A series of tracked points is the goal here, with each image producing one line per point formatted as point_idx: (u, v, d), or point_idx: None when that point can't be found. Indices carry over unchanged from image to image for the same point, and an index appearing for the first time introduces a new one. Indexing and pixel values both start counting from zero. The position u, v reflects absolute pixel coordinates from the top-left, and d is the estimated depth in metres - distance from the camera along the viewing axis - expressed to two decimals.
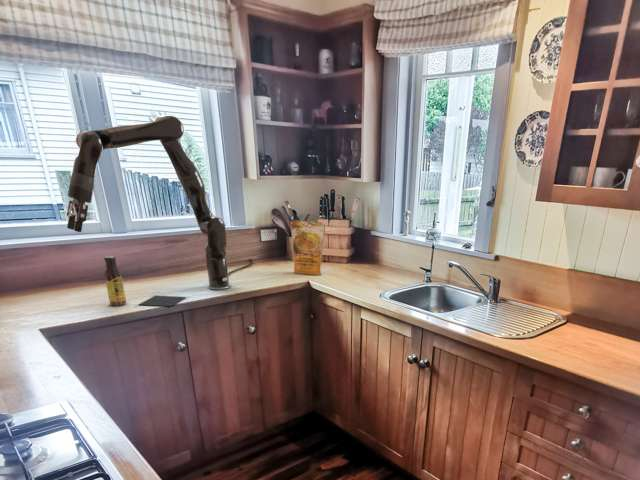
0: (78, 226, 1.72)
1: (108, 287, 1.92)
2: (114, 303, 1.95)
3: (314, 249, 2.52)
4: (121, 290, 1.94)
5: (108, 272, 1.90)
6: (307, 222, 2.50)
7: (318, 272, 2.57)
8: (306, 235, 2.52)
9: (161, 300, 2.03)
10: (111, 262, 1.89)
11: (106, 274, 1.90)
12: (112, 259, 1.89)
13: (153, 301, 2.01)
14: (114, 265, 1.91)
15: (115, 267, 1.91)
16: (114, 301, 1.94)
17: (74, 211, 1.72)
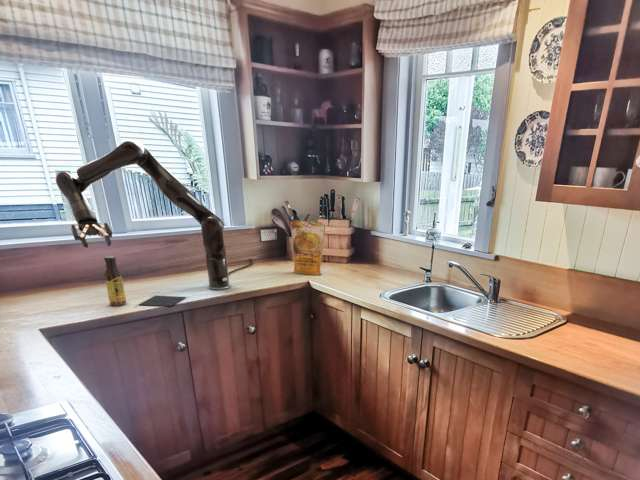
0: (82, 243, 1.93)
1: (108, 287, 1.92)
2: (114, 303, 1.95)
3: (314, 249, 2.52)
4: (121, 290, 1.94)
5: (108, 272, 1.90)
6: (307, 222, 2.50)
7: (318, 272, 2.57)
8: (306, 235, 2.52)
9: (161, 300, 2.03)
10: (111, 262, 1.89)
11: (106, 274, 1.90)
12: (112, 259, 1.89)
13: (153, 301, 2.01)
14: (114, 265, 1.91)
15: (115, 267, 1.91)
16: (114, 301, 1.94)
17: None
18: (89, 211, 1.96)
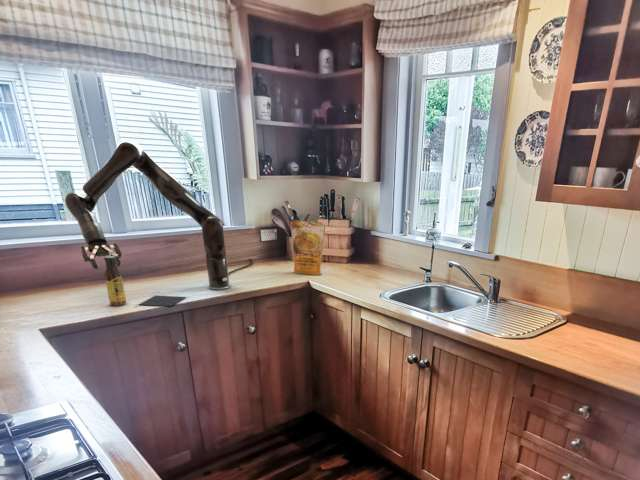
0: (92, 264, 1.92)
1: (108, 287, 1.92)
2: (114, 303, 1.95)
3: (314, 249, 2.52)
4: (121, 290, 1.94)
5: (108, 272, 1.90)
6: (307, 222, 2.50)
7: (318, 272, 2.57)
8: (306, 235, 2.52)
9: (161, 300, 2.03)
10: (111, 262, 1.89)
11: (106, 274, 1.90)
12: (112, 259, 1.89)
13: (153, 301, 2.01)
14: (114, 265, 1.91)
15: (115, 267, 1.91)
16: (114, 301, 1.94)
17: None
18: (99, 232, 1.95)
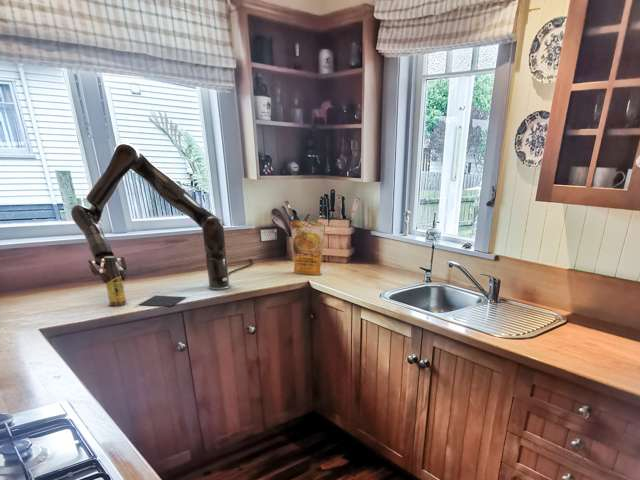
0: (101, 278, 1.90)
1: (108, 287, 1.92)
2: (114, 303, 1.95)
3: (314, 249, 2.52)
4: (120, 290, 1.94)
5: (107, 272, 1.90)
6: (307, 222, 2.50)
7: (318, 272, 2.57)
8: (306, 235, 2.52)
9: (161, 300, 2.03)
10: (111, 262, 1.89)
11: (106, 274, 1.90)
12: (112, 259, 1.89)
13: (153, 301, 2.01)
14: (114, 265, 1.91)
15: (115, 267, 1.91)
16: (114, 301, 1.94)
17: None
18: (105, 244, 1.93)
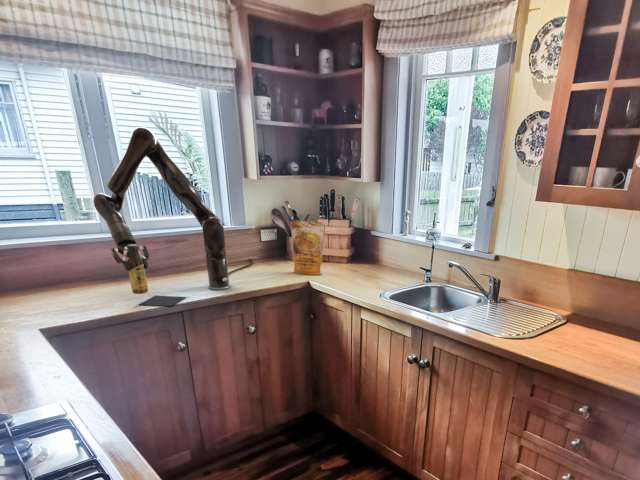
0: (124, 266, 1.91)
1: (131, 275, 1.93)
2: (137, 291, 1.95)
3: (314, 249, 2.52)
4: (143, 278, 1.95)
5: (130, 260, 1.91)
6: (307, 222, 2.50)
7: (318, 272, 2.57)
8: (306, 235, 2.52)
9: (161, 300, 2.03)
10: (134, 250, 1.90)
11: (129, 262, 1.91)
12: (135, 247, 1.90)
13: (153, 301, 2.01)
14: (136, 253, 1.91)
15: (137, 255, 1.92)
16: (137, 289, 1.95)
17: None
18: (128, 233, 1.94)
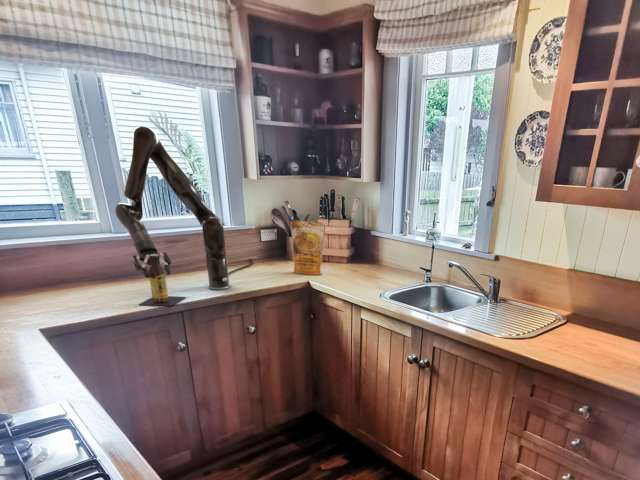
0: (143, 273, 1.94)
1: (152, 284, 1.97)
2: (157, 300, 1.99)
3: (314, 249, 2.52)
4: (164, 287, 1.99)
5: (152, 269, 1.95)
6: (307, 222, 2.50)
7: (318, 272, 2.57)
8: (306, 235, 2.52)
9: None
10: (156, 260, 1.94)
11: (150, 272, 1.95)
12: (157, 257, 1.94)
13: (153, 301, 2.01)
14: (158, 263, 1.95)
15: (159, 265, 1.96)
16: (157, 298, 1.99)
17: None
18: (149, 241, 1.97)
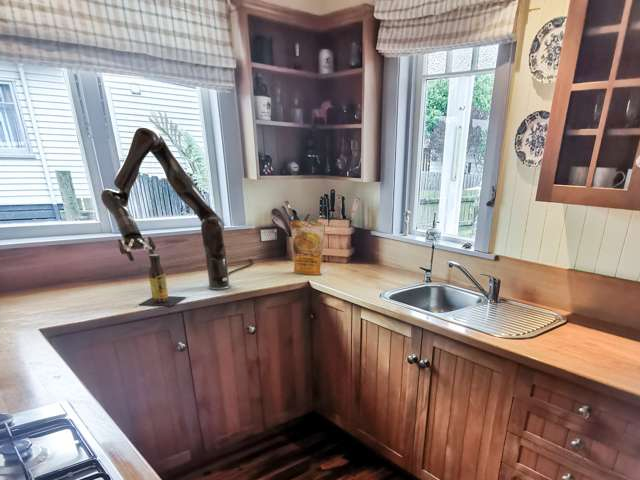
0: (128, 257, 2.00)
1: (152, 284, 1.97)
2: (157, 300, 1.99)
3: (314, 249, 2.52)
4: (164, 287, 1.99)
5: (152, 269, 1.95)
6: (307, 222, 2.50)
7: (318, 272, 2.57)
8: (306, 235, 2.52)
9: None
10: (156, 260, 1.94)
11: (150, 272, 1.95)
12: (157, 257, 1.94)
13: (153, 301, 2.01)
14: (158, 263, 1.95)
15: (159, 265, 1.96)
16: (157, 298, 1.99)
17: None
18: (134, 226, 2.03)
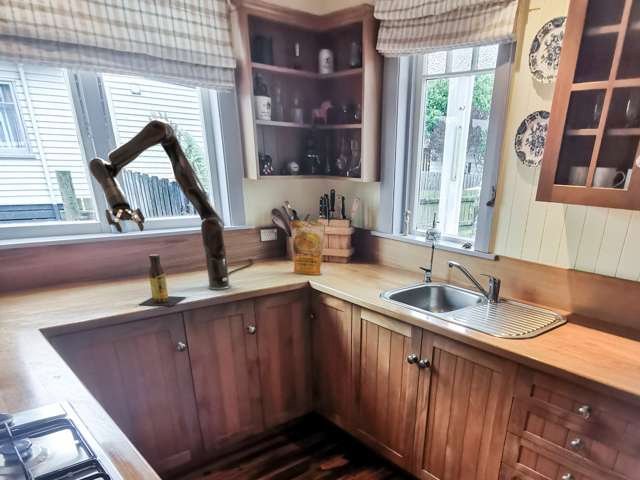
0: (116, 228, 1.95)
1: (152, 284, 1.97)
2: (157, 300, 1.99)
3: (314, 249, 2.52)
4: (164, 287, 1.99)
5: (152, 269, 1.95)
6: (307, 222, 2.50)
7: (318, 272, 2.57)
8: (306, 235, 2.52)
9: None
10: (156, 260, 1.94)
11: (150, 272, 1.95)
12: (157, 257, 1.94)
13: (153, 301, 2.01)
14: (158, 263, 1.95)
15: (159, 265, 1.96)
16: (157, 298, 1.99)
17: None
18: (122, 196, 1.98)
